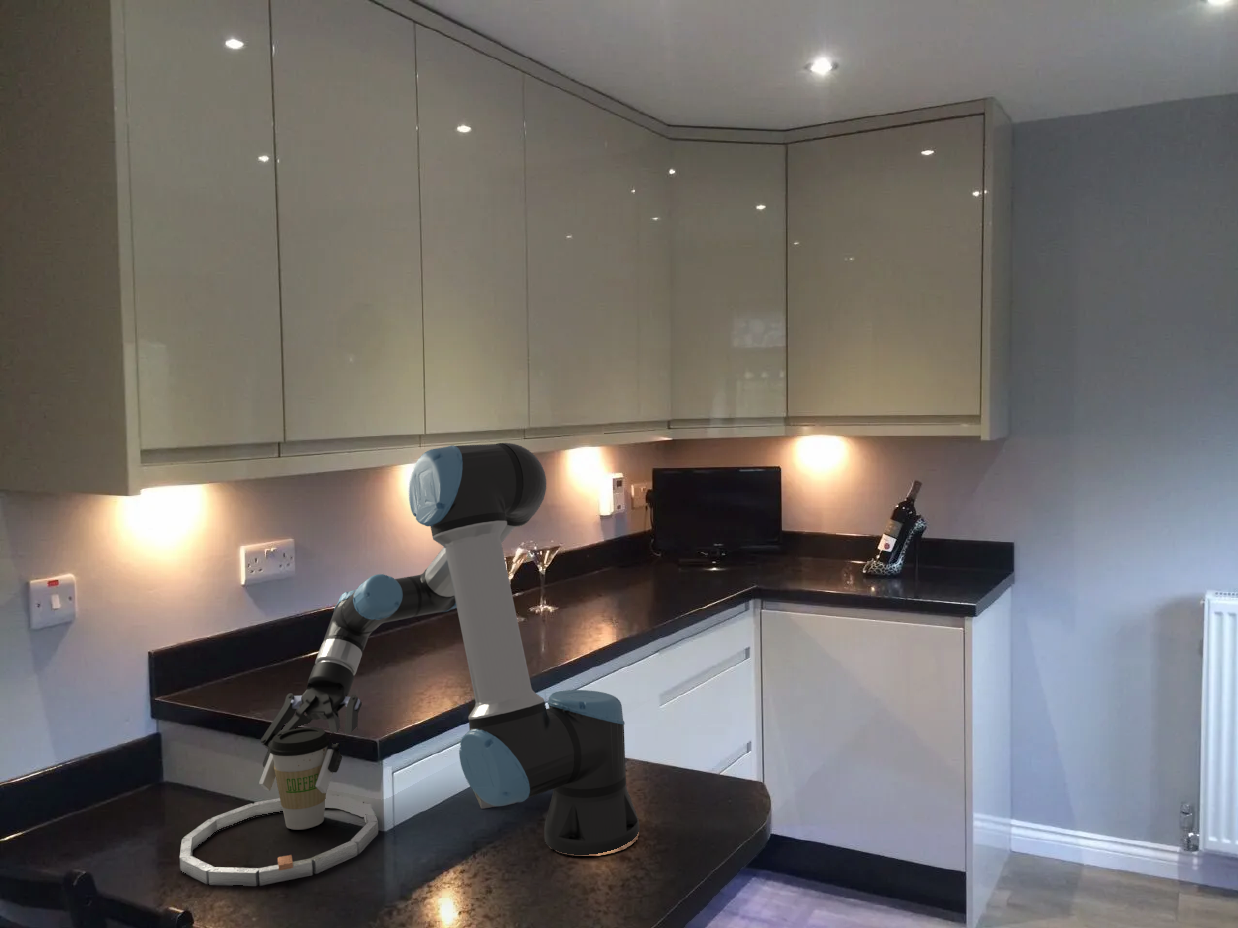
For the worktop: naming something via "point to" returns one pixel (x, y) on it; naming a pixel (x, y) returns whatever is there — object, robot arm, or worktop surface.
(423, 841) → the worktop surface
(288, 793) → the coffee cup
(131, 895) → the worktop surface
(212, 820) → the centring ring
